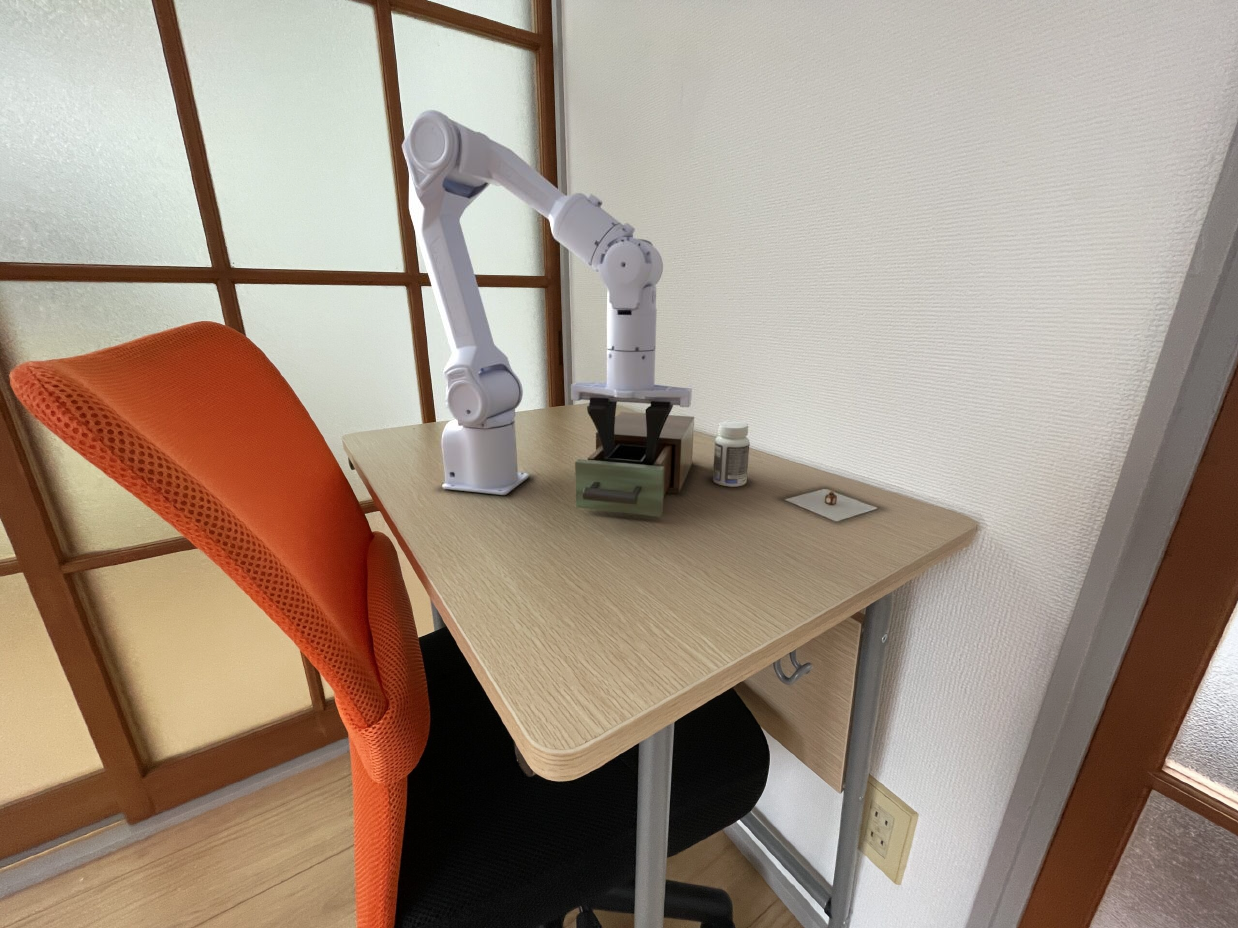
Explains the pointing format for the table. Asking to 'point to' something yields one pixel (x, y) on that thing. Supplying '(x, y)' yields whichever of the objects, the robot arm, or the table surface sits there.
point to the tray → (628, 454)
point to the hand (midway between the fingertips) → (629, 459)
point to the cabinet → (660, 440)
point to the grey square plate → (831, 504)
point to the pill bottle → (731, 454)
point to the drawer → (624, 482)
